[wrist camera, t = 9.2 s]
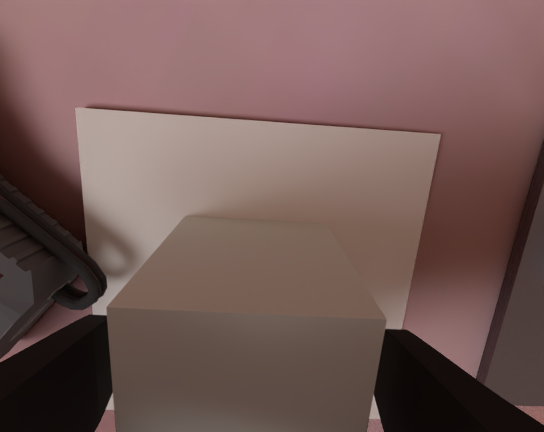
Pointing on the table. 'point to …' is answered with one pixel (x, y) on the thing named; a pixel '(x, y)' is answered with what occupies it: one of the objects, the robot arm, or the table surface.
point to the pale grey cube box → (245, 333)
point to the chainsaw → (38, 267)
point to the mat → (254, 190)
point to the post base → (520, 312)
